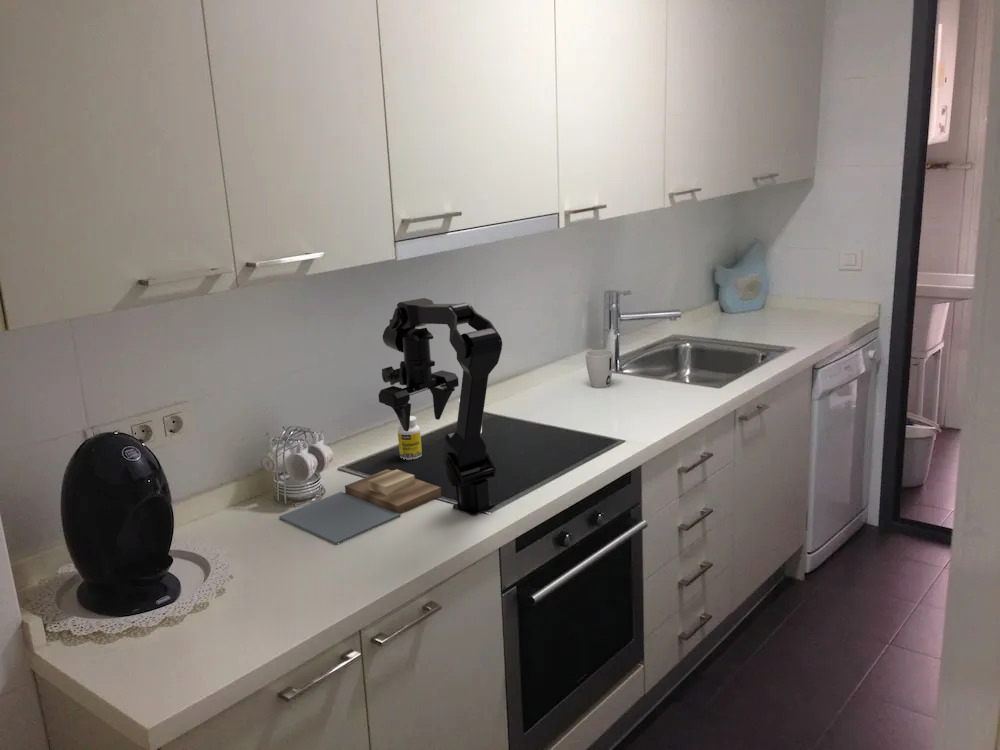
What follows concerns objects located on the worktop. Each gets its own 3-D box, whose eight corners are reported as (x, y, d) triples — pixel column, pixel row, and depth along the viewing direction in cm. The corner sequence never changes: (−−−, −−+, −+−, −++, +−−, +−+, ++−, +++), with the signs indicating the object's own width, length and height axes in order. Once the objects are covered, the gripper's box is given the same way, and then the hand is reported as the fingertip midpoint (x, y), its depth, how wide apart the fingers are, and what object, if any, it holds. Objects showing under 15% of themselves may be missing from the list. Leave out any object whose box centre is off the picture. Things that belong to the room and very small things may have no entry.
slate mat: (400, 516, 184) (400, 514, 184) (336, 544, 173) (336, 542, 173) (341, 493, 197) (341, 491, 197) (279, 518, 186) (278, 516, 186)
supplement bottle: (401, 461, 214) (397, 422, 212) (398, 454, 219) (395, 416, 217) (423, 458, 215) (420, 420, 213) (420, 451, 220) (417, 413, 218)
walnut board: (441, 495, 193) (440, 487, 192) (398, 514, 185) (397, 505, 184) (388, 477, 205) (387, 469, 205) (345, 494, 197) (344, 485, 196)
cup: (613, 389, 261) (612, 356, 258) (585, 389, 262) (584, 356, 260) (614, 381, 269) (614, 349, 266) (587, 381, 270) (586, 349, 267)
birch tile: (415, 483, 195) (414, 475, 194) (386, 495, 190) (385, 487, 189) (397, 477, 199) (396, 469, 199) (369, 489, 194) (368, 480, 193)
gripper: (424, 342, 205) (429, 406, 210) (359, 360, 193) (365, 429, 197) (458, 349, 198) (462, 416, 202) (392, 369, 185) (398, 440, 190)
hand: (422, 424), depth 198 cm, fingers open, 9 cm apart
